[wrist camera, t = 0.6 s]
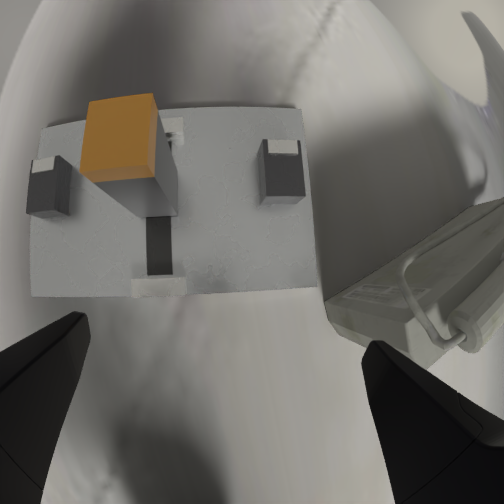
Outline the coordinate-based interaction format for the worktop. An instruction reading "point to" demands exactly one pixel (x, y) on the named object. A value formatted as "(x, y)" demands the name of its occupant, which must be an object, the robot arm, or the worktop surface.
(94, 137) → the lever
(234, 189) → the breaker panel
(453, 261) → the geiger counter
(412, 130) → the worktop surface
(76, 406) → the worktop surface
